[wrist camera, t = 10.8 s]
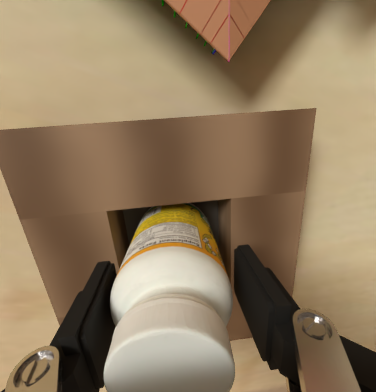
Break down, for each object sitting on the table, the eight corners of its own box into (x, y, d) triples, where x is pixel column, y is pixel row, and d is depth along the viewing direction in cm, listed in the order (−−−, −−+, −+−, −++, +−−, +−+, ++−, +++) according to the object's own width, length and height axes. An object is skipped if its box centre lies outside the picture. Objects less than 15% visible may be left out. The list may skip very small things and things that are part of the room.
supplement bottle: (139, 195, 14) (67, 306, 5) (213, 199, 14) (274, 308, 5) (139, 261, 16) (84, 437, 7) (206, 263, 16) (244, 433, 7)
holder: (279, 113, 14) (316, 108, 10) (266, 296, 19) (287, 332, 15) (34, 130, 12) (-14, 130, 9) (92, 320, 18) (74, 364, 14)
